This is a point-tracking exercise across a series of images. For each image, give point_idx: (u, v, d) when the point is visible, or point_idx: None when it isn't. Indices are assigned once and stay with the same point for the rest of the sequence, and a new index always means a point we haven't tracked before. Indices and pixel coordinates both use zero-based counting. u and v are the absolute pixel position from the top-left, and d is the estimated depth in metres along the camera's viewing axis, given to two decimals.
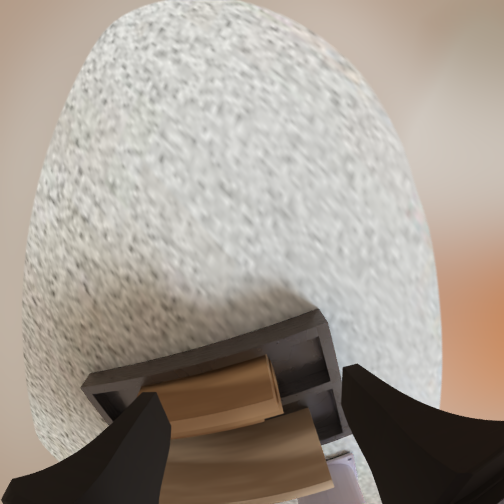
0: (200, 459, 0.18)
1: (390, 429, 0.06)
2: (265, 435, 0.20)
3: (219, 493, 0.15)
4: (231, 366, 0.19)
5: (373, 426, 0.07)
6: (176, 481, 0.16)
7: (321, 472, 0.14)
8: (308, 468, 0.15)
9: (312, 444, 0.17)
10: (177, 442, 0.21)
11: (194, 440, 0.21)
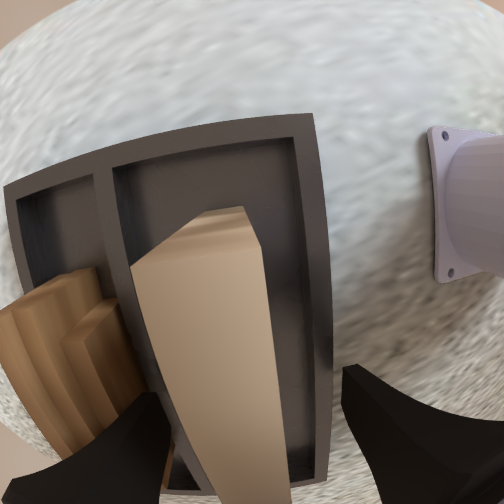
0: None
1: (390, 429, 0.06)
2: None
3: None
4: None
5: (373, 427, 0.07)
6: None
7: None
8: None
9: None
10: None
11: None
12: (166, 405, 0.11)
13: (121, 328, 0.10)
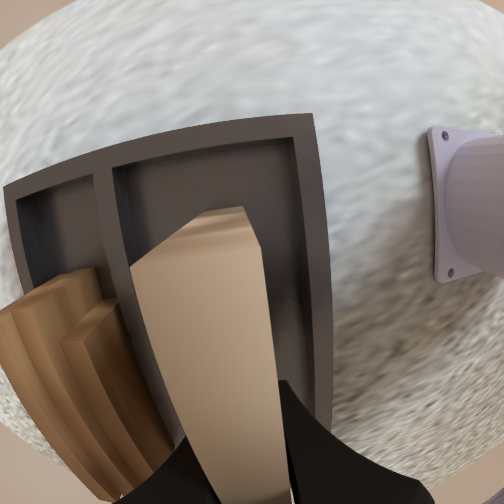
0: None
1: (290, 456, 0.06)
2: None
3: None
4: None
5: None
6: None
7: None
8: None
9: None
10: None
11: None
12: (166, 405, 0.11)
13: (121, 328, 0.10)
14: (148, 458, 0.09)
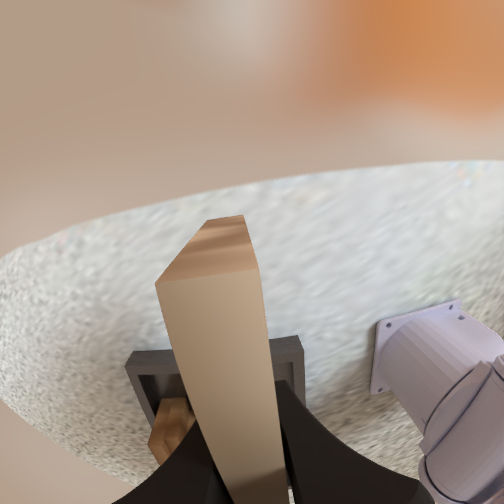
0: None
1: (290, 456, 0.06)
2: None
3: None
4: None
5: (285, 448, 0.07)
6: None
7: None
8: None
9: None
10: None
11: None
12: None
13: None
14: None
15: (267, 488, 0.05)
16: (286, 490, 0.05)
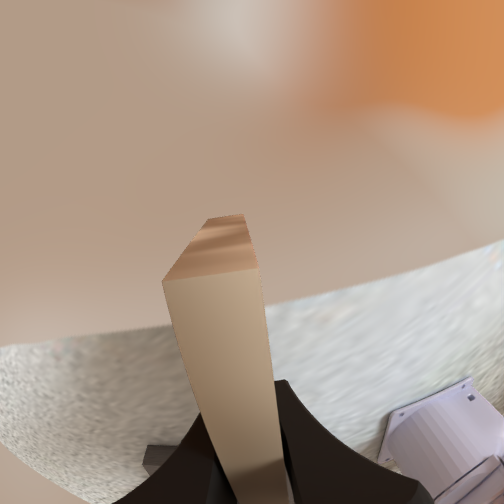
0: None
1: (289, 456, 0.06)
2: None
3: None
4: None
5: (285, 448, 0.07)
6: None
7: None
8: None
9: None
10: None
11: None
12: None
13: None
14: None
15: (267, 478, 0.06)
16: (285, 481, 0.06)
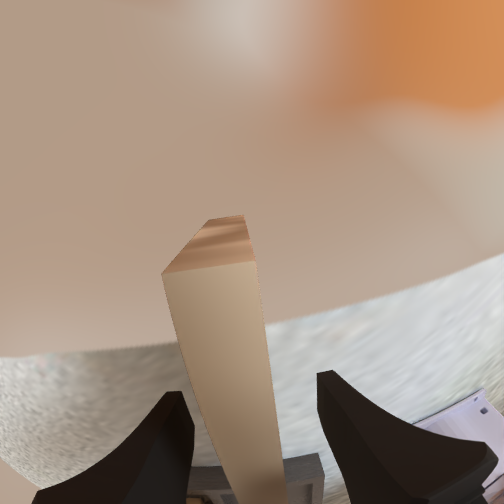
0: None
1: (356, 440, 0.06)
2: None
3: None
4: None
5: (343, 436, 0.07)
6: None
7: None
8: None
9: None
10: None
11: None
12: None
13: None
14: None
15: (265, 475, 0.06)
16: (283, 478, 0.06)
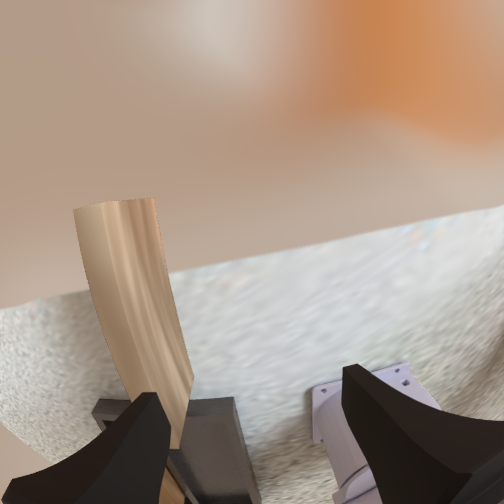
0: None
1: (390, 429, 0.06)
2: None
3: None
4: None
5: (374, 426, 0.07)
6: None
7: None
8: None
9: None
10: None
11: None
12: (182, 482, 0.21)
13: None
14: (175, 502, 0.20)
15: (122, 333, 0.12)
16: (132, 338, 0.12)
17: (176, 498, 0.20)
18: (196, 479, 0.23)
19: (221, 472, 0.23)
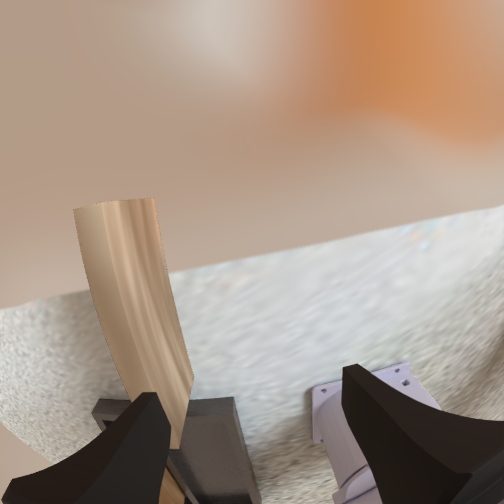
0: None
1: (390, 429, 0.06)
2: None
3: None
4: None
5: (374, 426, 0.07)
6: None
7: None
8: None
9: None
10: None
11: None
12: (182, 482, 0.21)
13: None
14: (175, 502, 0.20)
15: (122, 333, 0.12)
16: (132, 338, 0.12)
17: (176, 498, 0.20)
18: (196, 479, 0.23)
19: (221, 472, 0.23)
